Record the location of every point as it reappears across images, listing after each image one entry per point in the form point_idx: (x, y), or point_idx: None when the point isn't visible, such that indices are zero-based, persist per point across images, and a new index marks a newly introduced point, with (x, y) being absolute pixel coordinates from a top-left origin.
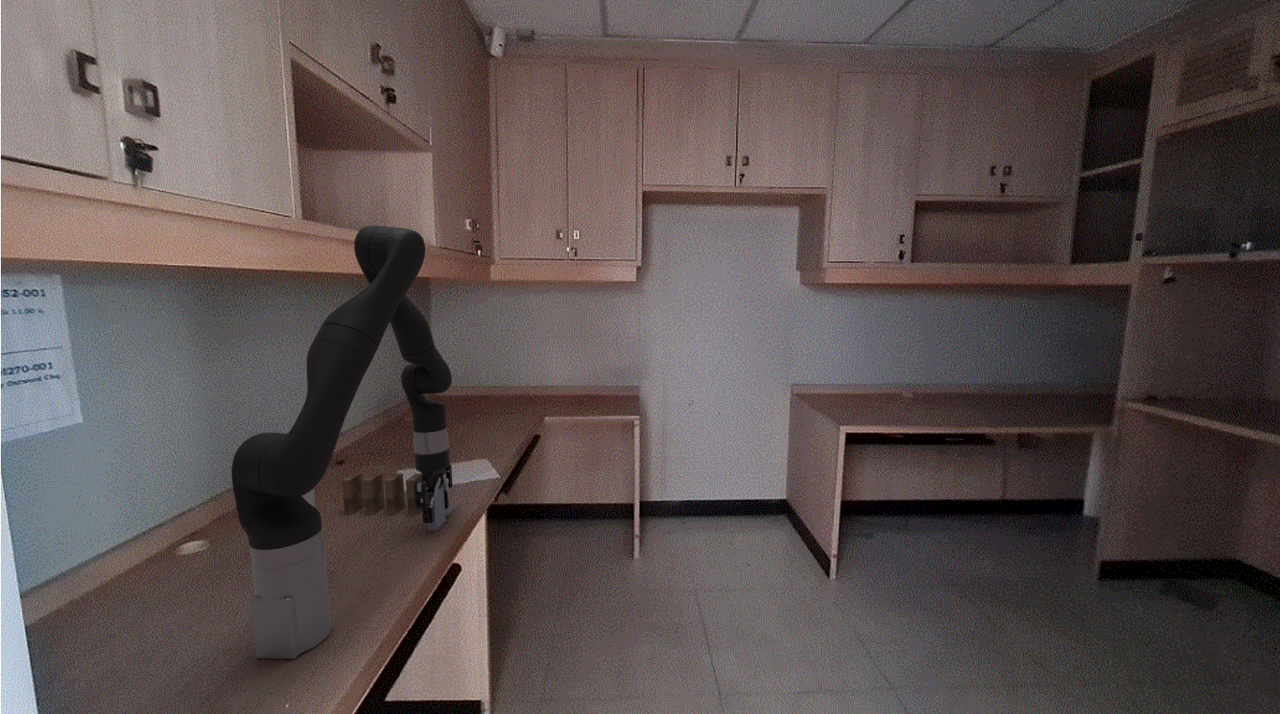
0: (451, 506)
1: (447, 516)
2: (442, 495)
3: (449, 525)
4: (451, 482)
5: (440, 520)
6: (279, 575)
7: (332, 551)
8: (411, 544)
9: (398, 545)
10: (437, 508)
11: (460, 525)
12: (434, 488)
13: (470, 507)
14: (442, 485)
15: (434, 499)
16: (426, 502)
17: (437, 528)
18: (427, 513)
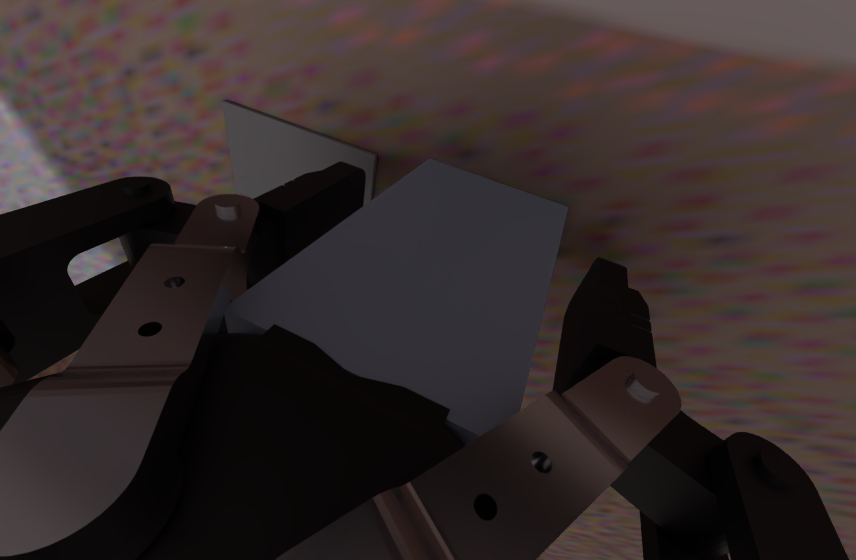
0: (250, 148)
1: (374, 154)
2: (340, 258)
3: (514, 118)
4: (98, 199)
5: (489, 195)
6: None
7: (607, 541)
8: (738, 338)
9: (701, 391)
10: (493, 262)
11: (547, 12)
12: (534, 553)
13: (238, 2)
14: (234, 317)
15: (515, 360)
16: (822, 545)
17: (545, 200)
18: (648, 356)
